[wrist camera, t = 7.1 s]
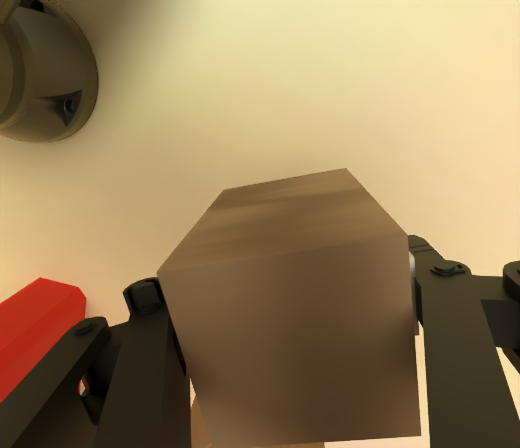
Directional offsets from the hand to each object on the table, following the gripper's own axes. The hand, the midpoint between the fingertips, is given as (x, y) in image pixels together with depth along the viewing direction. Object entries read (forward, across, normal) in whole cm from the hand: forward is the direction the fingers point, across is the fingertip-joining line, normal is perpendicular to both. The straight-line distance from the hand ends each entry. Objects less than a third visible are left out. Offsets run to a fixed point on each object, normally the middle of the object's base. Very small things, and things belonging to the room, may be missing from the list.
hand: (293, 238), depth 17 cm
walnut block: (0, 0, 0) cm, 0 cm away
